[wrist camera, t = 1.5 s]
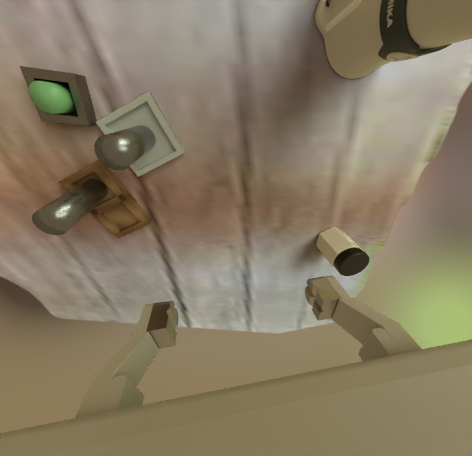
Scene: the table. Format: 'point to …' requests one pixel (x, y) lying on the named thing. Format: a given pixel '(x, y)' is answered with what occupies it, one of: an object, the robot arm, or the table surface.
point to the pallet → (111, 200)
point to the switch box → (77, 91)
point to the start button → (52, 97)
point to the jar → (342, 252)
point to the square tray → (151, 117)
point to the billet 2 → (124, 146)
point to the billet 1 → (70, 207)
